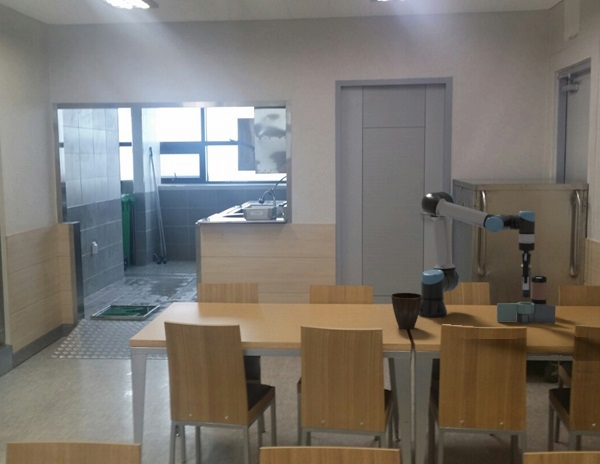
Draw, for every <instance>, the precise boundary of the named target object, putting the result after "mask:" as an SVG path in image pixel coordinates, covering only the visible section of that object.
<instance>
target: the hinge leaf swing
mask: <svg viewBox="0 0 600 464" xmlns="http://www.w3.org/2000/svg"><path fill="white" fill-rule="evenodd" d="M517 313H520V314H533V313H535V304H534V303H531V301H519V302H515V303H512V302H511V303H509V302H507V303H496V322H497V323H498V322H501V323H502V322H503V323H504V322H505V323H507V322H508V323H509V322H511V323H512V322H516V323H517Z"/></svg>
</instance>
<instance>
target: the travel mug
mask: <svg viewBox="0 0 600 464" xmlns="http://www.w3.org/2000/svg"><path fill="white" fill-rule="evenodd" d="M547 281H548V279H547V277H546V276H544V275H535V276H530V303H534V304H544V305H547V286H548V283H547Z"/></svg>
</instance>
